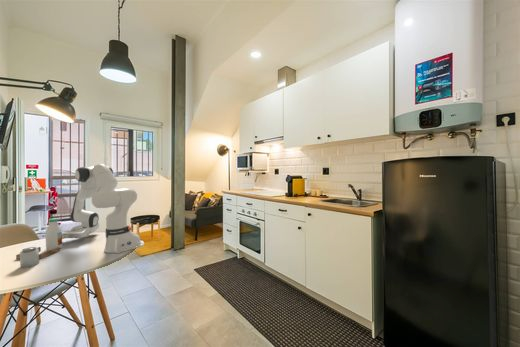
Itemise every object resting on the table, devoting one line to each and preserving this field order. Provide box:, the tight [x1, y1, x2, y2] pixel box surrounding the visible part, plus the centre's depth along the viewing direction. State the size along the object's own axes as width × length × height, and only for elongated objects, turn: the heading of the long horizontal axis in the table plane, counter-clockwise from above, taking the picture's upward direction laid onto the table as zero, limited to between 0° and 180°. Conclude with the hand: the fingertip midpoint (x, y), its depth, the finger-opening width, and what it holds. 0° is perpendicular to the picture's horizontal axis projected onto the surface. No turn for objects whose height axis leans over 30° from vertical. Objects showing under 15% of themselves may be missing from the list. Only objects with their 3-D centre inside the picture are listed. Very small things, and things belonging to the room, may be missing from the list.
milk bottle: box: [45, 217, 63, 252], centre depth 140 cm, size 8×8×20 cm
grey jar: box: [19, 246, 40, 269], centre depth 117 cm, size 7×7×9 cm
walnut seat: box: [15, 246, 61, 260], centre depth 130 cm, size 12×14×2 cm
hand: (59, 238), depth 143 cm, fingers closed, pressing on milk bottle
